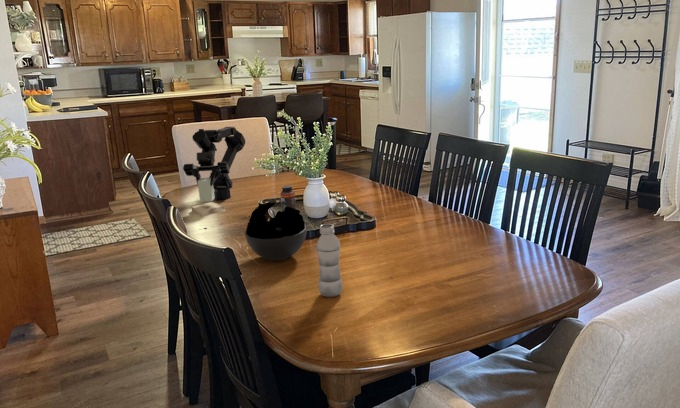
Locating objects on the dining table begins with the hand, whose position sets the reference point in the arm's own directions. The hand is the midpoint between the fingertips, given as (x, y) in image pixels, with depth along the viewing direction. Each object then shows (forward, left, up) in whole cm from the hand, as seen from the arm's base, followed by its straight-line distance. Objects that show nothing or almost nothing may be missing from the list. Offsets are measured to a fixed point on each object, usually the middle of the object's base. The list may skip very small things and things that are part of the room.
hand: (204, 185), depth 239 cm
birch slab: (0, -1, -11) cm, 11 cm away
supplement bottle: (-25, +25, -13) cm, 37 cm away
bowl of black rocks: (+7, +67, -13) cm, 69 cm away
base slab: (-1, -1, -13) cm, 13 cm away
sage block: (-1, -1, -7) cm, 7 cm away
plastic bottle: (+12, +102, -13) cm, 103 cm away
